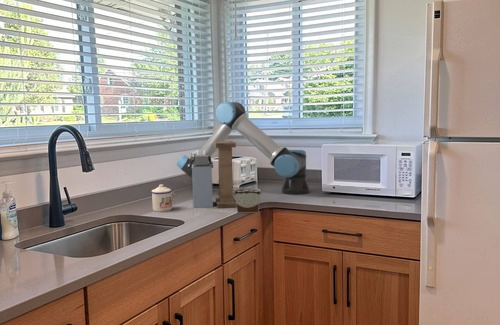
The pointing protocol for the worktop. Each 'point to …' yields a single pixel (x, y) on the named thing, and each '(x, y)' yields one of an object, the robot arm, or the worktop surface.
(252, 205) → the food container
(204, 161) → the handle
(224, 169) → the stand
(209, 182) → the blue-grey tall block
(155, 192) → the teacup with lid
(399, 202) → the worktop surface
